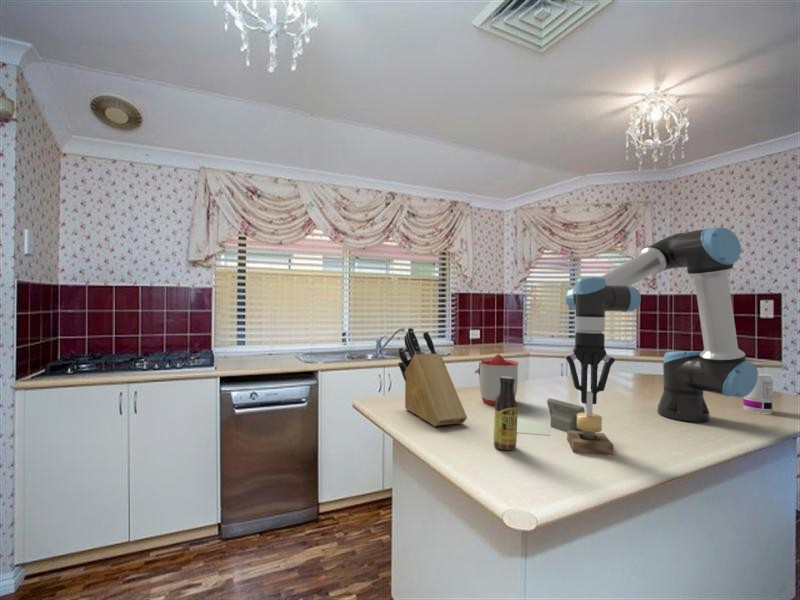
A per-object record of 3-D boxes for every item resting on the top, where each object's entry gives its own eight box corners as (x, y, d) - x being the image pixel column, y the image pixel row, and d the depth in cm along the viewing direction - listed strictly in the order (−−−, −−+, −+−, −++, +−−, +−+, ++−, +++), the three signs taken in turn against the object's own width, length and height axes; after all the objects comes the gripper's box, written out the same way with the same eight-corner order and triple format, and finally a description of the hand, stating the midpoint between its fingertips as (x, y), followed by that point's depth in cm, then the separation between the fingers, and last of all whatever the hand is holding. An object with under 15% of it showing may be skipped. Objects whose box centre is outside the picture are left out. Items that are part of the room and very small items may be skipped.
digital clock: (592, 435, 125) (592, 406, 125) (572, 437, 122) (572, 407, 122) (561, 422, 138) (561, 395, 138) (542, 424, 135) (542, 397, 135)
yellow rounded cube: (598, 434, 116) (598, 413, 116) (604, 442, 110) (604, 419, 110) (574, 432, 117) (574, 411, 117) (578, 440, 111) (579, 418, 111)
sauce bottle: (502, 453, 109) (503, 380, 109) (489, 445, 115) (489, 376, 115) (522, 449, 112) (522, 378, 112) (507, 442, 117) (508, 374, 117)
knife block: (420, 401, 164) (421, 326, 164) (467, 426, 132) (468, 332, 132) (395, 404, 160) (395, 326, 160) (437, 430, 128) (438, 333, 128)
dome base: (603, 443, 117) (603, 433, 117) (613, 456, 107) (613, 444, 107) (567, 440, 120) (567, 430, 120) (573, 452, 110) (573, 441, 110)
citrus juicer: (477, 397, 173) (477, 350, 173) (519, 400, 167) (519, 352, 167) (471, 405, 158) (471, 355, 158) (516, 410, 152) (517, 357, 152)
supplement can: (748, 416, 147) (749, 375, 147) (739, 410, 155) (739, 371, 155) (777, 418, 144) (777, 377, 144) (766, 412, 152) (766, 373, 152)
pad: (544, 420, 140) (544, 419, 140) (550, 436, 123) (550, 435, 123) (505, 417, 143) (505, 416, 143) (506, 432, 126) (506, 431, 126)
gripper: (611, 331, 116) (610, 413, 116) (563, 330, 119) (561, 409, 119) (618, 333, 108) (617, 420, 108) (567, 332, 111) (566, 416, 111)
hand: (588, 415), depth 113 cm, fingers closed
